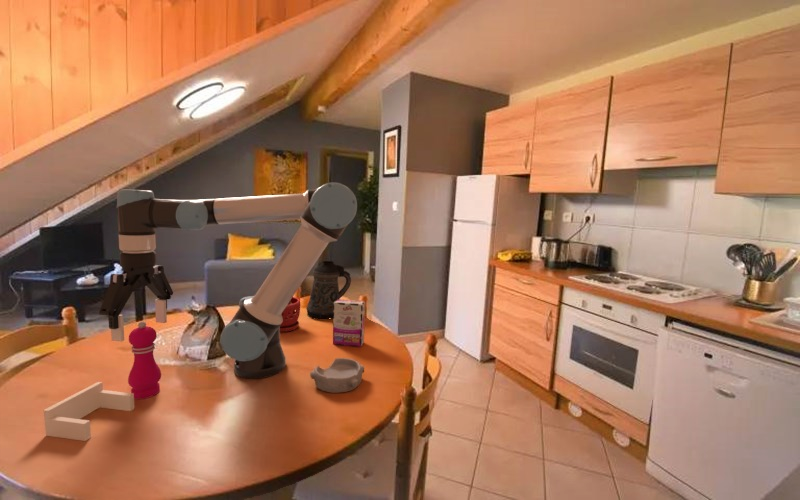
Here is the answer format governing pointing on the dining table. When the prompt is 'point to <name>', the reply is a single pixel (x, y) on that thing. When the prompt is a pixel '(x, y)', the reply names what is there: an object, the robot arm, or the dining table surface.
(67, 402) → the bracket
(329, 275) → the beer stein
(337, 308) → the candy bar box
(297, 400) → the dining table surface
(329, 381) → the dish
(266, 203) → the robot arm
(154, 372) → the pepper mill
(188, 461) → the dining table surface
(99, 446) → the dining table surface
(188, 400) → the dining table surface
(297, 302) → the plant pot
